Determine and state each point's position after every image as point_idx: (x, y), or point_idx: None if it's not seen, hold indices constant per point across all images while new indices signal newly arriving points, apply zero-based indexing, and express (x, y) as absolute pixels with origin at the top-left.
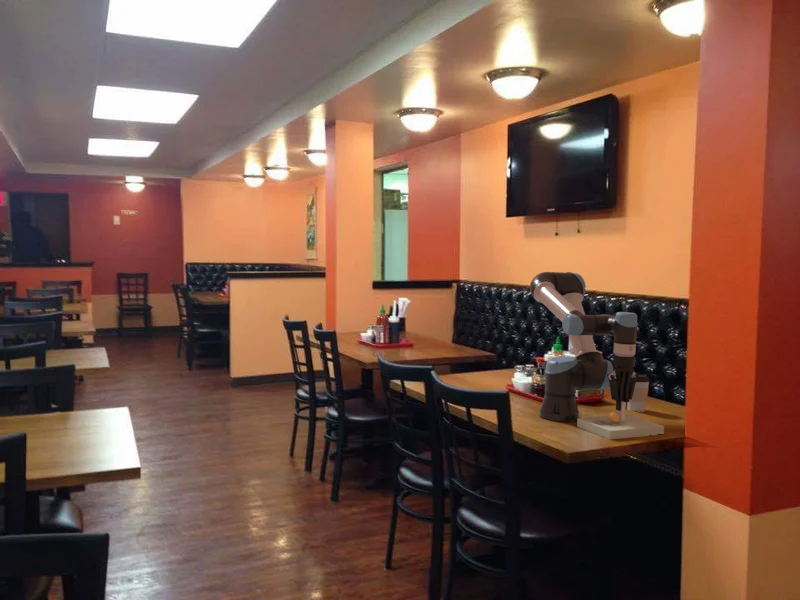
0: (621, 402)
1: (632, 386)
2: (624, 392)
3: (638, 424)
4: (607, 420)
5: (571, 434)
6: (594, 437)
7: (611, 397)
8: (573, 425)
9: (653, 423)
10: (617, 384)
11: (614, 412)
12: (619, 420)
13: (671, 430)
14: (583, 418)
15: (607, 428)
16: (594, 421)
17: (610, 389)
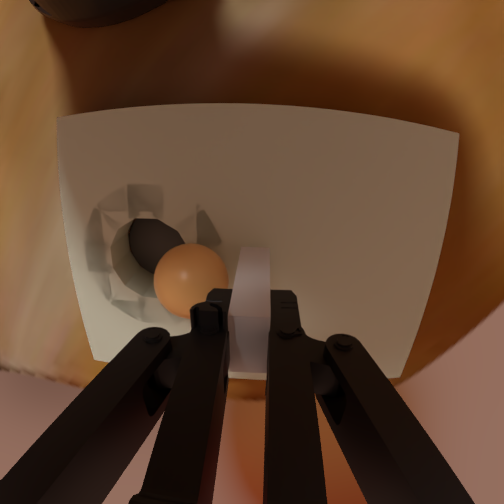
0: (229, 359)
1: (364, 493)
2: (265, 428)
3: (315, 332)
4: (197, 207)
5: (9, 233)
6: (66, 296)
7: (133, 338)
8: (77, 95)
9: (404, 336)
10: (152, 485)
11: (177, 306)
12: (279, 231)
13: (468, 315)
14: (84, 124)
15: (100, 332)
16: (104, 204)
17: (77, 400)
